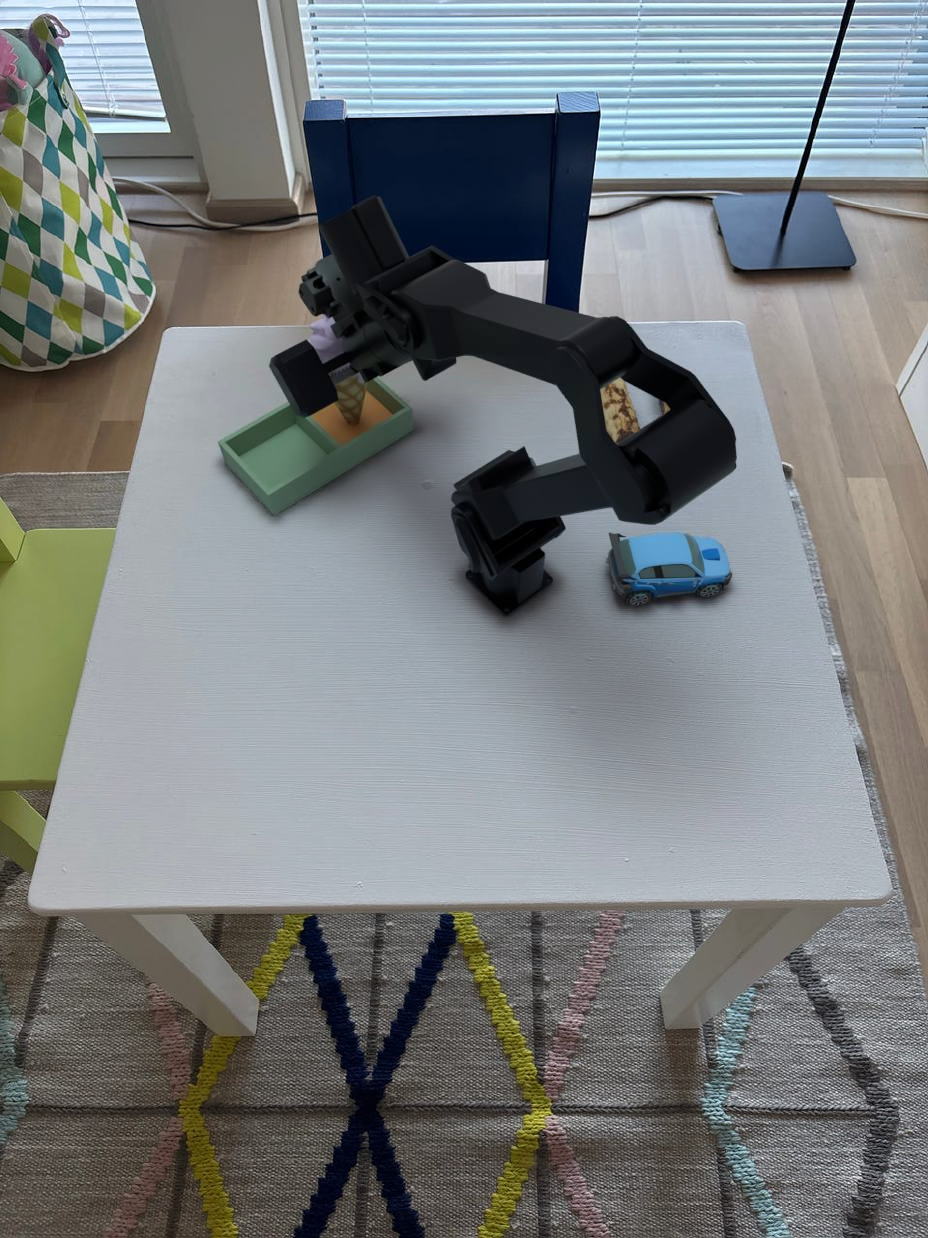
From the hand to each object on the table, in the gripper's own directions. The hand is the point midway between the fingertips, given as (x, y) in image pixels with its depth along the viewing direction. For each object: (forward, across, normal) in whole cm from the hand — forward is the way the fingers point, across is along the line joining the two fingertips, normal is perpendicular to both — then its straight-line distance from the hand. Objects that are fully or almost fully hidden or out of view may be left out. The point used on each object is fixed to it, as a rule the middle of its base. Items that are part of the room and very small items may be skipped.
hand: (341, 359), depth 96 cm
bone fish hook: (-8, -24, +21) cm, 33 cm away
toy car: (-20, -12, +33) cm, 41 cm away
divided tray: (+6, +5, +7) cm, 10 cm away
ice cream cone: (+5, 0, +7) cm, 9 cm away
